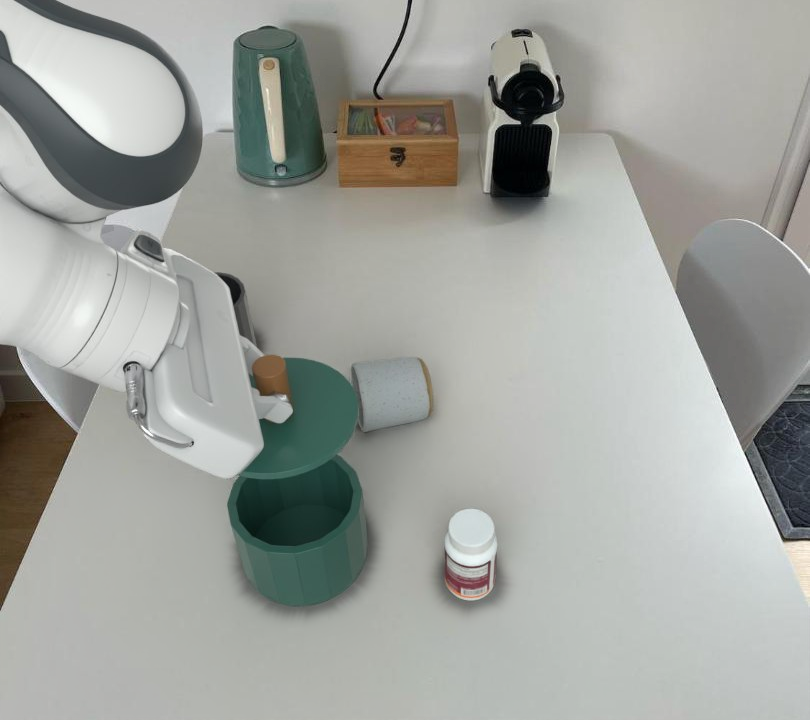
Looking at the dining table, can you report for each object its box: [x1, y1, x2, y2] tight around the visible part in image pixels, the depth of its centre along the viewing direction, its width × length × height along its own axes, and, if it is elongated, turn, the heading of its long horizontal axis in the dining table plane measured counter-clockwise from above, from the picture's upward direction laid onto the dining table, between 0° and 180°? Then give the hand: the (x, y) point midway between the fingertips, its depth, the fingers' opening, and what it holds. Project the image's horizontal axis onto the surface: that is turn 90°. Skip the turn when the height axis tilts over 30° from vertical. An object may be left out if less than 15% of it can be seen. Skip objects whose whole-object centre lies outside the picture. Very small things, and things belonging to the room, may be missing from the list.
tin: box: [226, 454, 369, 607], centre depth 76 cm, size 12×12×8 cm
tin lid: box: [238, 354, 359, 479], centre depth 64 cm, size 13×13×6 cm
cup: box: [213, 271, 258, 348], centre depth 98 cm, size 9×9×9 cm
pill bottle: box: [443, 507, 499, 601], centre depth 73 cm, size 5×5×8 cm
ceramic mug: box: [350, 356, 434, 433], centre depth 90 cm, size 11×8×8 cm
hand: (282, 393), depth 64 cm, fingers closed on tin lid, 2 cm apart
